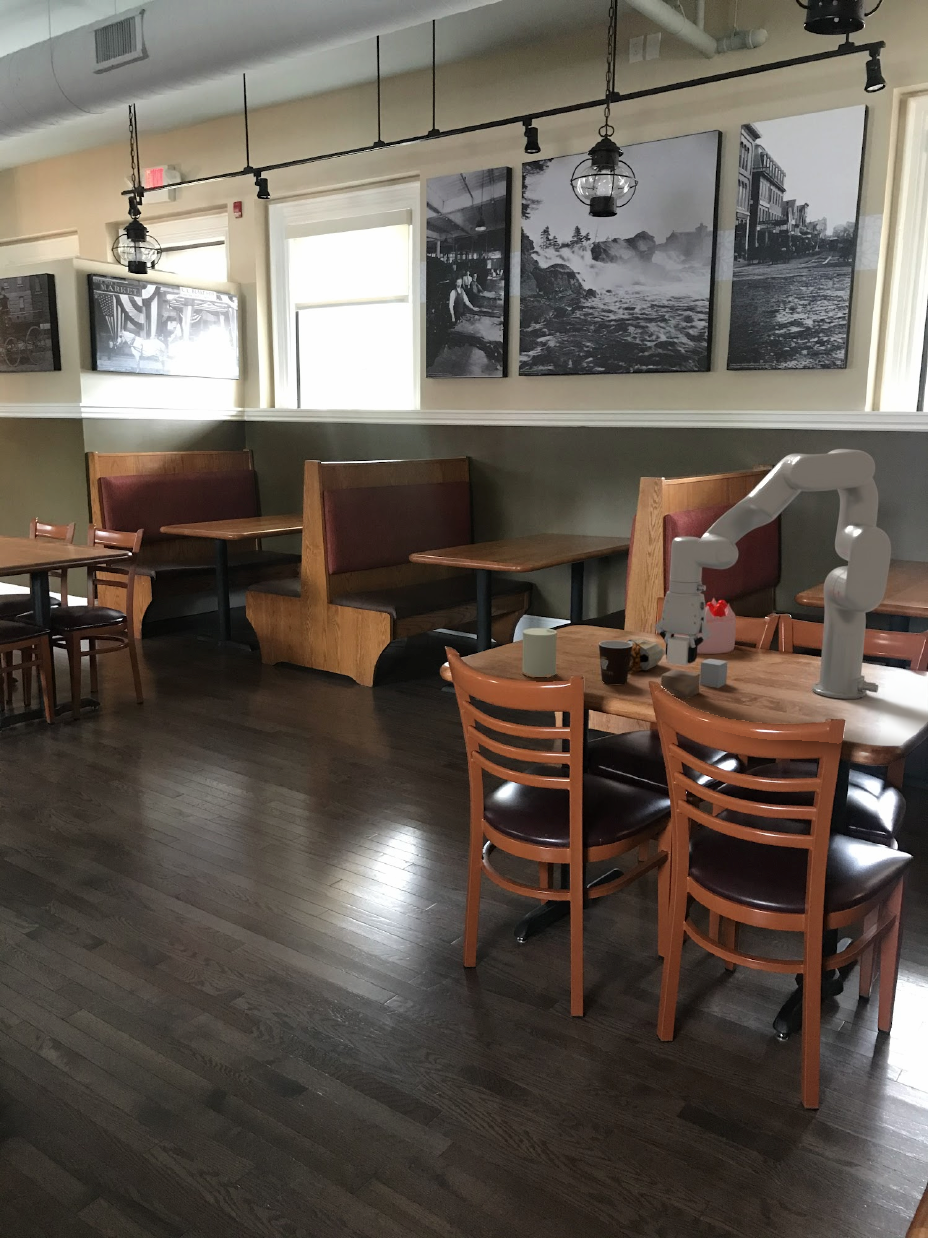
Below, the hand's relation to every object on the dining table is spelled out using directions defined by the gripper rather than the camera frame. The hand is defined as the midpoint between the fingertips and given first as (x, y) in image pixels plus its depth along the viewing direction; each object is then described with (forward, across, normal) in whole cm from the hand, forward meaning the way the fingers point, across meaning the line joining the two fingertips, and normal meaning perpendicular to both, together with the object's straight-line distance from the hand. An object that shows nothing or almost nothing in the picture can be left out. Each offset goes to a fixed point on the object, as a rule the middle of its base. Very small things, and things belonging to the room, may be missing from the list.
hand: (680, 659), depth 239 cm
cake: (+9, +18, -51) cm, 55 cm away
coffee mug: (+9, +17, +2) cm, 19 cm away
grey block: (+9, -3, -13) cm, 16 cm away
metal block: (+9, 0, 0) cm, 9 cm away
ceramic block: (+1, 0, 0) cm, 1 cm away
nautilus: (+9, +21, -15) cm, 27 cm away
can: (+9, +38, +6) cm, 39 cm away
